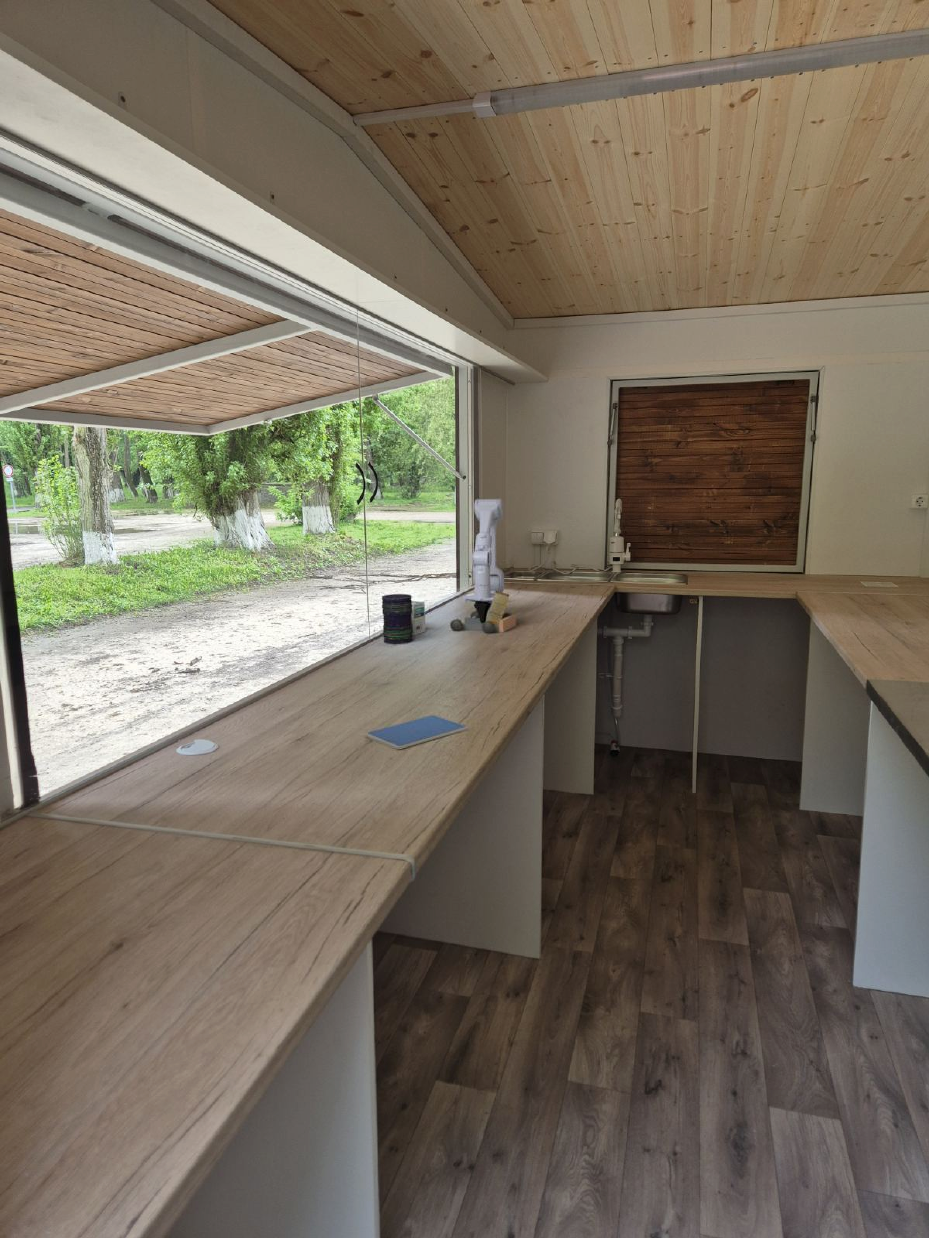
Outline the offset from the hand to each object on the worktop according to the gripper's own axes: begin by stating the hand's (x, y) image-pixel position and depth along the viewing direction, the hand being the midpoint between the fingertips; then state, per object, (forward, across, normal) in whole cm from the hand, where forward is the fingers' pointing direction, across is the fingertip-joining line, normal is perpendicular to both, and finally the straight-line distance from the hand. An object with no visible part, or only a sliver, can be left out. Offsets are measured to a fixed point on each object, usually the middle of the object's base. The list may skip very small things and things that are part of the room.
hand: (483, 622), depth 289 cm
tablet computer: (+3, +33, -111) cm, 116 cm away
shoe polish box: (+1, +3, 0) cm, 3 cm away
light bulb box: (+2, -21, -16) cm, 27 cm away
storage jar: (+2, -17, -30) cm, 35 cm away
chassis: (+2, +1, 0) cm, 2 cm away
